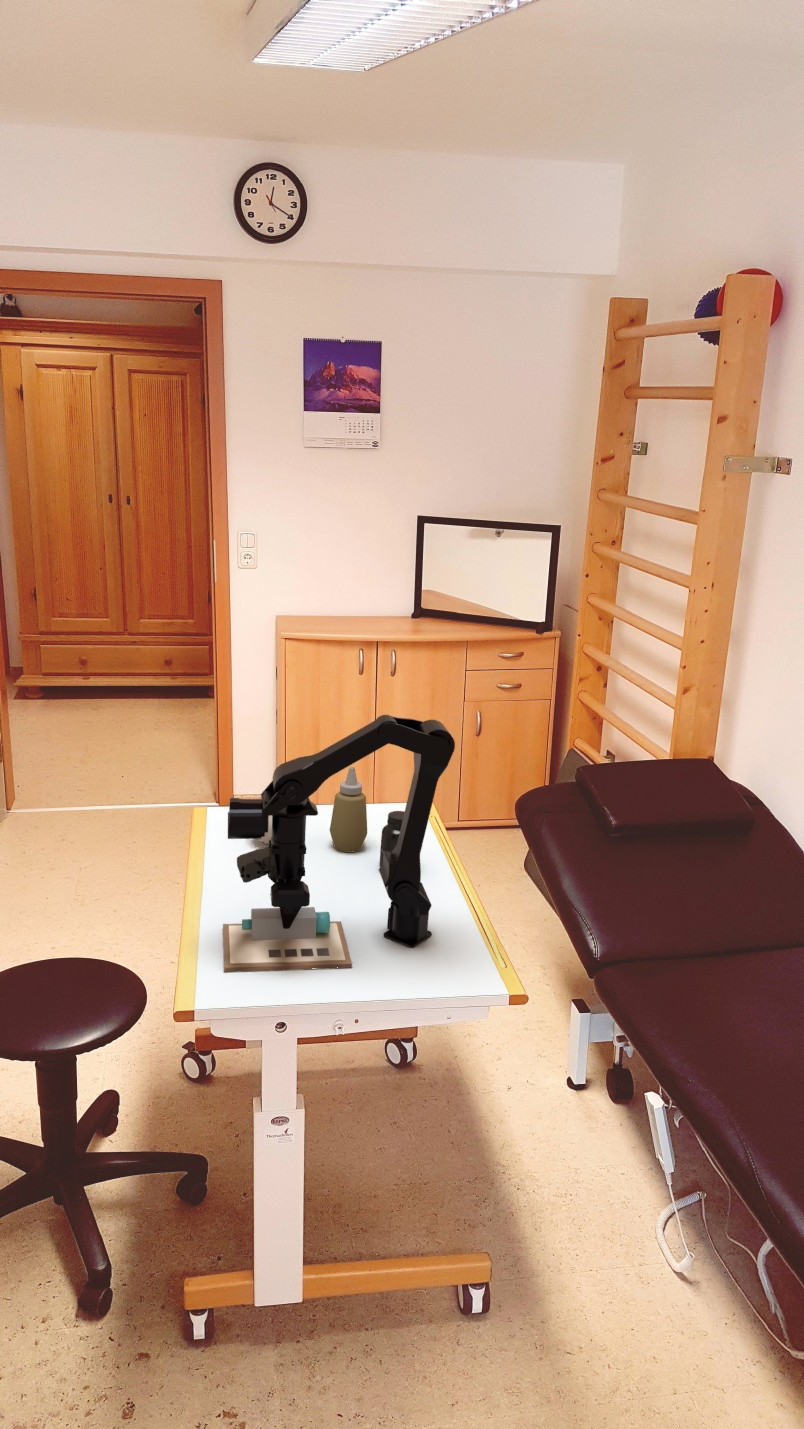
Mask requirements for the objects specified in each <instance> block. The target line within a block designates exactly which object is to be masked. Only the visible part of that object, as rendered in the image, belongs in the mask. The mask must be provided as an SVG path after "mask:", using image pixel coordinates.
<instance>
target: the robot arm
mask: <svg viewBox="0 0 804 1429" xmlns="http://www.w3.org/2000/svg"><path fill="white" fill-rule="evenodd" d="M388 744H389V745H393V746H397V747H399V748H402V749H404V750H407V751H409V752H412V753H413V767H414V768H413V775H412V778H411V783H410V787H409V788H410V789H409V792H408V796H407V800H406V805H405V808H404V817H403V821H402V825H401V829H400V834H399V838H398V842H397V845H396V847H395V848H394V849H393V851H392V852H387V851H384V853H383V863H382V866H381V867H380V866H379V868H378V871H379V874H380V878H381V881H382V882H383V886H384V888H385V891H386V893H387V896H388V898H389V899H390V906H389V908H388V910H387V923H386V925H387V926H386V929H387V930H386V931H385V932H383V937H384V938H387V939H389V940H392V941H395V942H397V943H399V944H402V945H405V946H407V947H408V948H414V947H416V946H417V945H419V944H421V943H423V941H425V940H427V939H428V938H430V937H431V936H432V935H433V932H432V931H430V930H429V929H428V926H429V916H430V911H431V910H430V909H431V908H432V902H431V901H430V899H429V896H428V894H427V891H426V889H425V887H424V884H423V883H422V882H421V880H422V878H421V877H422V875H421V874H422V873H421V872H422V871H421V852H422V848H423V843H424V839H425V835H426V831H427V827H428V822H429V819H430V814H431V809H432V806H433V803H434V802H433V801H434V798H435V793H436V790H437V785H438V781H439V779H440V777H441V776H442V775H443V773H444V772H445V770H446V769H447V768H448V766H449V763H450V761H451V758H452V756H453V754H454V752H455V750H456V749H455V748H456V742H455V738H454V737H453V736H452V734H451V733H450V731H449V730H448V729H447V727H446V726H445V725H444V723H442V722H441V721H439V720H437V719H428V720H427V719H426V720H424V721H422V720H419V719H414V718H407V717H406V718H405V717H396V716H393V715H390V714H381V715H379V716H377V718H376V719H375V720H374V721H371V722H370V723H368V724H367V725H366V724H365V725H364V726H363V727H361V728H360V729H357V730H356V731H354V732H352V733H350V734H349V735H347V736H344V738H342V739H339V740H338V741H337V742H334V743H332V744H331V745H330V746H327V747H326V748H324V749H322V750H320V751H319V752H317V753H314V754H312V755H304V756H300V757H296V758H293V759H291V760H289V761H288V760H287V761H285V762H283V763H281V764H280V765H278V766H277V767H276V768H275V769H274V771H273V773H272V780H271V782H269V783H268V785H267V786H266V787H265V789H263V791H262V792H261V794H260V798H240V797H231V798H229V803H228V804H229V806H228V808H229V809H228V812H227V840H250V839H251V840H252V839H253V840H254V839H255V840H257V839H258V840H259V839H261V837H265V833H268V818H269V816H272V837H271V838H270V840H269V844H267V845H268V846H267V847H266V846H265V847H262V848H258V849H255V850H252V851H248V852H246V853H243V854H240V855H239V856H237V858H236V867H237V870H238V872H239V877H240V878H241V880H242V883H246V884H247V883H250V882H252V881H255V880H257V879H260V878H262V877H264V876H267V877H268V878H269V880H271V882H272V883H273V884H272V885H271V886H270V893H269V896H270V904H271V906H272V908H280V913H281V919H282V924H283V928H284V929H289V928H290V927H291V925H292V923H293V921H294V919H295V918H296V916H297V914H298V912H299V910H300V909H301V907H309V906H310V901H311V900H310V897H311V894H310V889H309V886H308V884H307V883H305V882H304V880H302V878H303V877H306V867H305V855H306V854H307V846H306V829H307V828H306V827H307V825H306V824H307V816H308V817H309V816H310V817H311V816H318V815H319V810H318V808H317V805H316V804H315V803H314V802H313V801H311V799H310V797H311V796H312V795H314V793H315V792H317V791H318V789H319V788H320V787H321V786H322V785H323V784H324V783H325V781H327V780H328V779H329V778H331V777H333V776H334V775H335V774H336V775H337V773H339V772H341V771H343V770H345V769H346V768H348V767H351V765H353V764H355V763H356V762H359V761H360V760H362V759H364V758H366V757H367V756H369V755H370V754H372V753H375V752H376V751H378V750H380V749H382V748H383V747H385V746H387V745H388Z"/></svg>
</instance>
